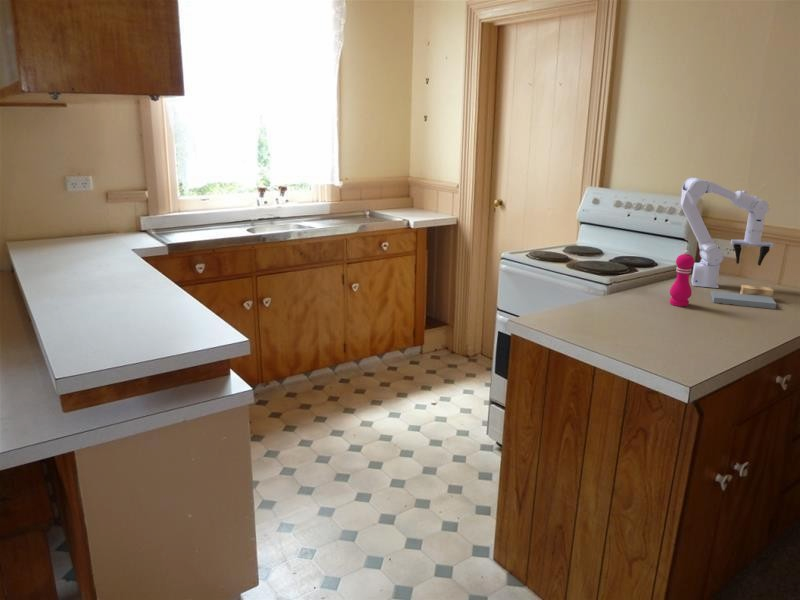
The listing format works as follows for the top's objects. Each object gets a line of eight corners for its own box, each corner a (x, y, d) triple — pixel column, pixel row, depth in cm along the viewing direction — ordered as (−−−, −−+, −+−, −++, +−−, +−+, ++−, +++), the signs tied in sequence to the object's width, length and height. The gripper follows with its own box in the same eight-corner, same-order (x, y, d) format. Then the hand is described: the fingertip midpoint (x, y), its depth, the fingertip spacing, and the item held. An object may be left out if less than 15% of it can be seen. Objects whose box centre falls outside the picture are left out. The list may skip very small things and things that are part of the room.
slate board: (713, 302, 230) (714, 297, 229) (710, 295, 239) (711, 290, 238) (775, 309, 223) (776, 303, 223) (770, 301, 232) (771, 296, 232)
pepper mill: (668, 305, 226) (675, 251, 220) (668, 300, 232) (675, 247, 226) (690, 308, 223) (698, 253, 217) (689, 302, 229) (697, 249, 224)
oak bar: (741, 299, 236) (743, 287, 234) (739, 296, 240) (741, 284, 239) (771, 302, 232) (773, 290, 231) (769, 298, 237) (771, 287, 236)
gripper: (734, 230, 245) (729, 264, 248) (777, 233, 240) (770, 267, 244) (732, 227, 251) (727, 260, 255) (773, 230, 246) (767, 264, 250)
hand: (748, 264), depth 250 cm, fingers open, 7 cm apart
